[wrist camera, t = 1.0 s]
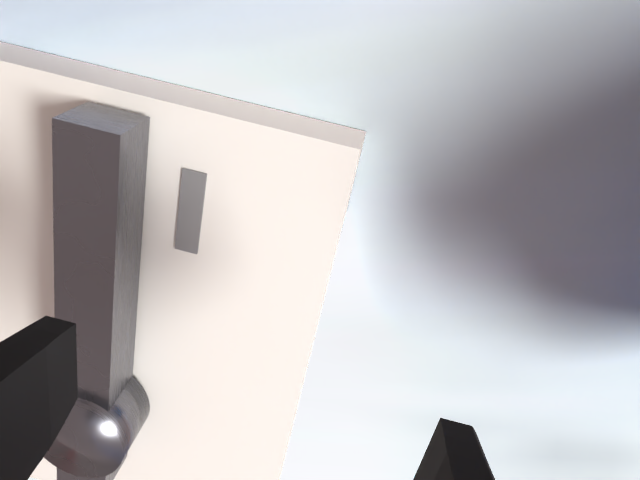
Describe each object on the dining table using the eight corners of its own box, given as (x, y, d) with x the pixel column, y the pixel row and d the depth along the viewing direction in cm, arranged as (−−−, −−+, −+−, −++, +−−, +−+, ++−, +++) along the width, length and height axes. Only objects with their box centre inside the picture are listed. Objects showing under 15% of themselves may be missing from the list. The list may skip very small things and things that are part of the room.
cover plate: (273, 504, 28) (263, 544, 26) (-96, 403, 29) (-131, 434, 27) (366, 131, 19) (360, 150, 18) (-167, 0, 20) (-226, 5, 18)
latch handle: (145, 461, 25) (119, 508, 23) (64, 438, 25) (31, 484, 23) (175, 122, 18) (141, 146, 16) (63, 95, 18) (15, 114, 16)
